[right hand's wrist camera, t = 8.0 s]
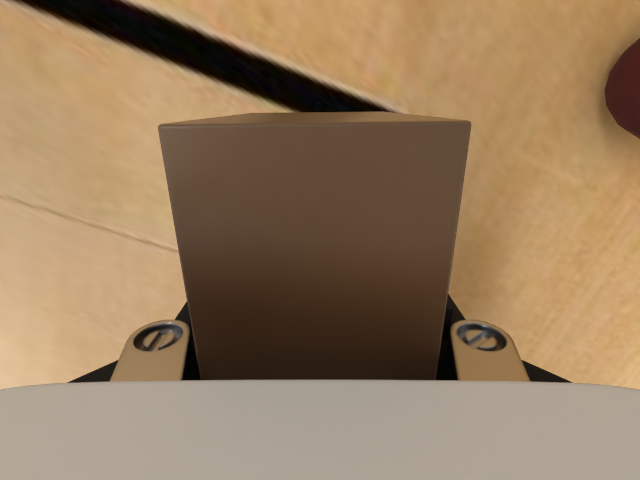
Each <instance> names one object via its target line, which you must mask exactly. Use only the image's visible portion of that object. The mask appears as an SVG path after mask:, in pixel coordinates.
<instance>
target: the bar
mask: <svg viewBox="0 0 640 480" xmlns="http://www.w3.org/2000/svg"><path fill="white" fill-rule="evenodd" d="M470 130H471V122H469V121H466V120H456V119H447V118H437V117H428V116H418V115H409V114H399V113H390V112H313V113H249V114H241V115H232V116H224V117H216V118H207V119H199V120H191V121H182V122H174V123H166V124H160V125H159V126H158V131H159V137H160V143H161V148H162V154H163V160H164V166H165V172H166V178H167V184H168V190H169V196H170V202H171V208H172V214H173V220H174V225H175V231H176V237H177V243H178V249H179V255H180V261H181V267H182V273H183V279H184V285H185V291H186V297H187V302H188V308H189V314H190V320H191V326H192V332H193V338H194V344H195V350H196V356H197V362H198V368H199V374H200V380H436V376H437V368H438V361H439V354H440V347H441V339H442V332H443V325H444V318H445V311H446V303H447V296H448V289H449V282H450V275H451V267H452V260H453V253H454V246H455V238H456V231H457V224H458V217H459V210H460V202H461V195H462V188H463V181H464V174H465V166H466V159H467V152H468V145H469V137H470Z"/></svg>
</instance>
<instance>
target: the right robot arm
mask: <svg viewBox="0 0 640 480" xmlns="http://www.w3.org/2000/svg"><path fill="white" fill-rule="evenodd" d="M0 480H640V390H637V389H632V388H625V387H618V386H609V385H598V384H585V383H572V382H570V381H568V380H566V379H563V378H561V377H559V376H557V375H554V374H552V373H550V372H548V371H545V370H543V369H541V368H539V367H536V366H534V365H532V364H530V363H527V362H525V361H523V360H521V358H520V356H519V353H518V351H517V349H516V346H515V344H514V342H513V340H512V338H511V337H510V336H509V334H507V333H506V332H505V331H504V330H502V329H501V328H499V327H497V326H495V325H493V324H490V323H487V322H483V321H479V320H465V318H464V317H463V315H462V314H461V312H460V311H459V309H458V308H457V306H456V305H455V303H454V302H453V300H452V299H451V297H450V296H449V294H448V296H447V303H446V311H445V318H444V325H443V332H442V339H441V347H440V354H439V361H438V368H437V376H436V380H200V374H199V368H198V362H197V356H196V350H195V344H194V338H193V332H192V326H191V320H190V314H189V308H188V302H186V304H185V305H184V307H183V308H182V310H181V311H180V313H179V314H178V316H177V317H176V319H175V320H161V321H157V322H153V323H150V324H147V325H145V326H143V327H141V328H139V329H138V330H136V331H135V332H134V333H133V334H131V336H130V337H129V338H128V340H127V342H126V344H125V346H124V349H123V351H122V353H121V356H120V358H119V360H117V361H115V362H113V363H111V364H108V365H106V366H104V367H102V368H99V369H97V370H95V371H93V372H90V373H88V374H86V375H84V376H81V377H79V378H77V379H75V380H72V381H70V382H68V383H55V384H42V385H31V386H22V387H15V388H8V389H2V390H0Z"/></svg>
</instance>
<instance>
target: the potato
mask: <svg viewBox="0 0 640 480" xmlns="http://www.w3.org/2000/svg"><path fill="white" fill-rule="evenodd" d="M605 96H606V105H607V107H608V109H609V111H610V112H611V114H612V116H613V117H614V119H615V120H616V122H617V123H618V125H620V126H621V127H622V128H624V129H625V130H627V131H628V132H630V133H632V134H633V135H635V136H636V137H638V138H640V38H639V39H638V40H637V41H636V42H635V43H634V44H632V45H631V46H630V47H629V48H628V49H627V50H626V51H625V52H624V53H623V54H622V55H621V57H620V58H619V60H618V61H617V63H616V64H615V66H614V67H613V69H612V70H611V72H610V74H609V78H608V81H607V85H606V88H605Z"/></svg>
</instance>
